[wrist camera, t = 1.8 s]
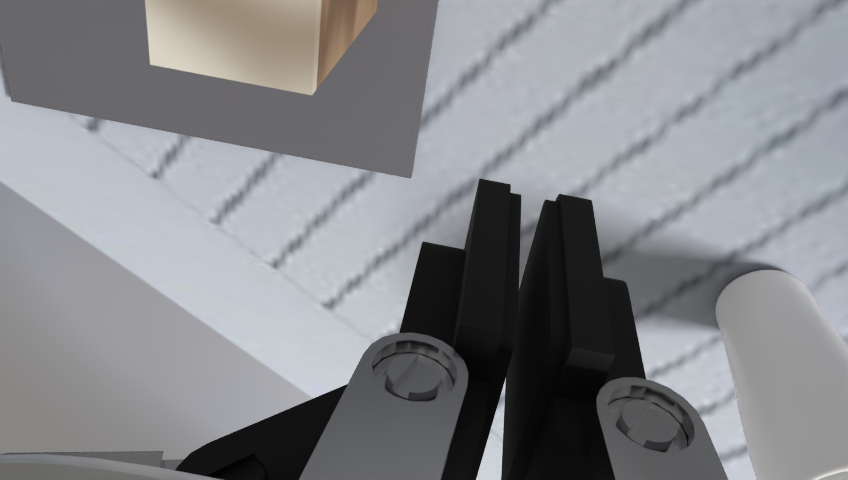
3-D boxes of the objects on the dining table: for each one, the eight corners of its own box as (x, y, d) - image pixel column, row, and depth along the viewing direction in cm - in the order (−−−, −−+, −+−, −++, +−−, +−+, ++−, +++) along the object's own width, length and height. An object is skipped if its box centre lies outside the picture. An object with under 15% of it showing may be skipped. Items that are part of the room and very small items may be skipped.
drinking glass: (679, 321, 43) (740, 535, 30) (742, 238, 39) (841, 442, 26) (775, 358, 43) (875, 583, 31) (847, 279, 40) (993, 498, 27)
